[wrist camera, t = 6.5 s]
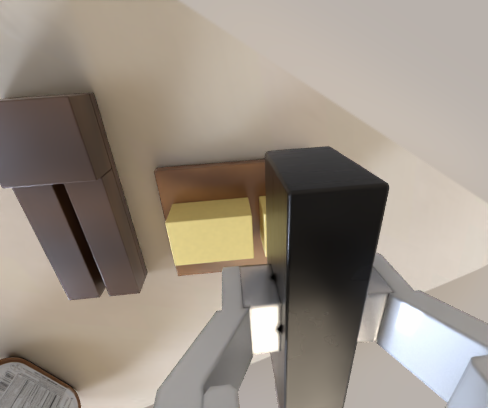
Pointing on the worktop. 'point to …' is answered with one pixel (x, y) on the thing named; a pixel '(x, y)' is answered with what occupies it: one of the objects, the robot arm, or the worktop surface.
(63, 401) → the tin
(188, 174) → the board
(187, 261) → the butter
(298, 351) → the knife
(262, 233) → the butter pat
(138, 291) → the knife stand
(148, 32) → the worktop surface
